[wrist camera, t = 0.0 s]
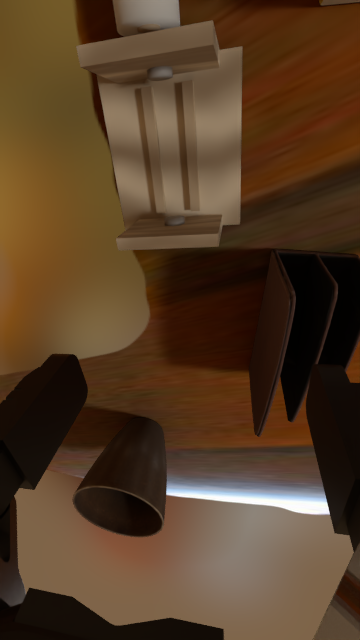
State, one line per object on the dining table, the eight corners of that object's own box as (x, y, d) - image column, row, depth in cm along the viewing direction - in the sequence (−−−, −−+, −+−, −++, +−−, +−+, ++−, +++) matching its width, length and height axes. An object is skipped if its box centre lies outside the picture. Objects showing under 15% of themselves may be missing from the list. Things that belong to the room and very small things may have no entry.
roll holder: (101, 73, 30) (51, 50, 22) (242, 50, 27) (243, 14, 19) (129, 227, 38) (99, 251, 30) (239, 221, 35) (240, 245, 27)
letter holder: (248, 368, 47) (251, 446, 35) (271, 247, 36) (287, 300, 24) (313, 376, 45) (339, 460, 34) (357, 253, 35) (417, 312, 23)
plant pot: (123, 452, 65) (93, 533, 51) (98, 404, 58) (56, 485, 44) (188, 452, 61) (173, 541, 48) (170, 401, 54) (147, 489, 40)
